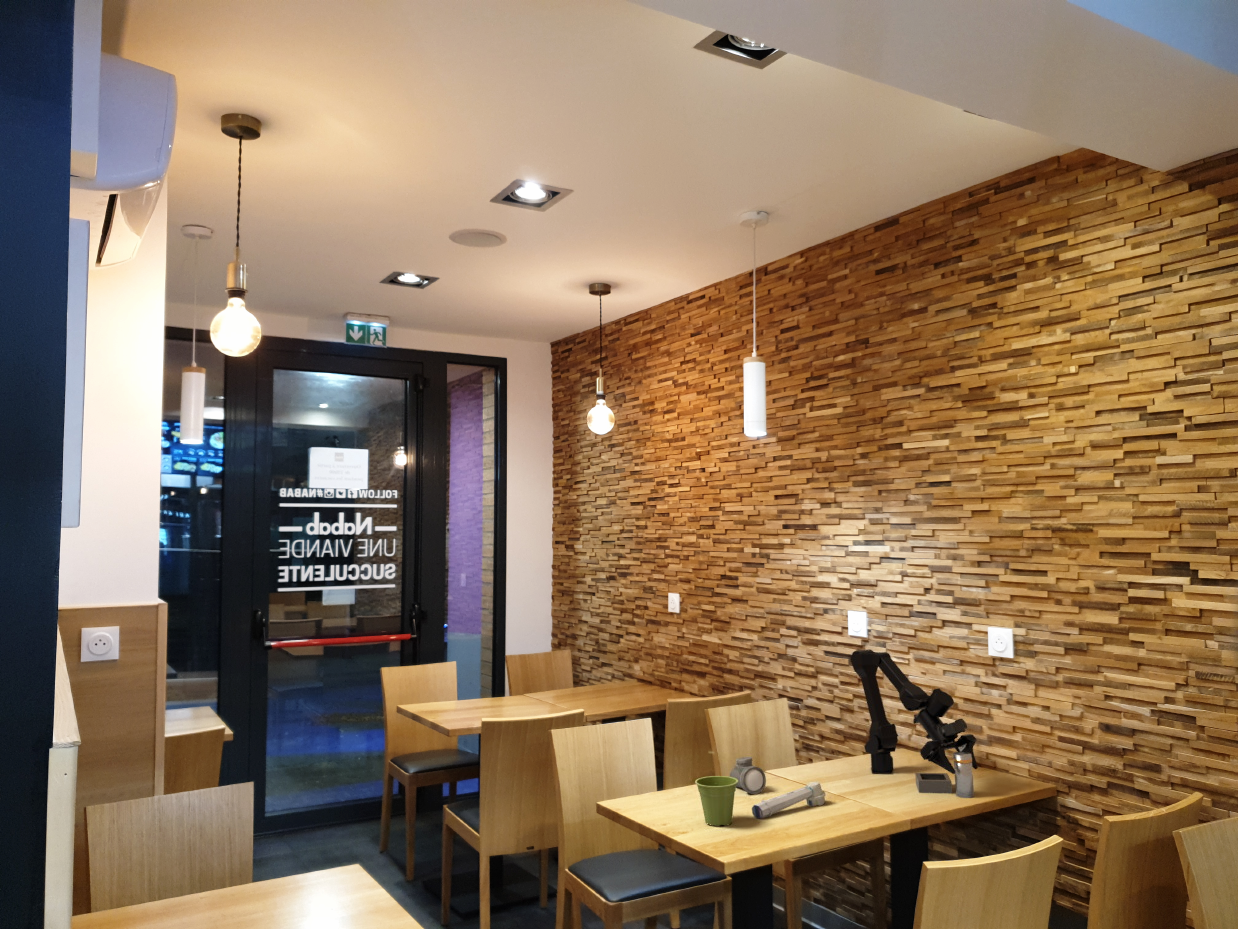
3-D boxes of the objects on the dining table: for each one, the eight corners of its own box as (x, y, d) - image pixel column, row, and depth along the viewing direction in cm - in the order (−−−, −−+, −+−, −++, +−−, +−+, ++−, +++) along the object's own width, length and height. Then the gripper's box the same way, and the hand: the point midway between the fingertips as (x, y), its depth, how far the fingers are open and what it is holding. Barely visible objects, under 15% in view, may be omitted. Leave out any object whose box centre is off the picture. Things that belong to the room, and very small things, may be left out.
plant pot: (742, 817, 257) (740, 775, 258) (737, 830, 245) (735, 787, 246) (700, 815, 260) (698, 774, 261) (693, 828, 248) (692, 786, 249)
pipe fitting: (769, 791, 280) (763, 756, 282) (746, 797, 277) (740, 762, 279) (750, 786, 291) (744, 753, 293) (728, 792, 288) (722, 758, 290)
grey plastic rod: (748, 802, 257) (813, 775, 271) (752, 826, 257) (817, 797, 271) (761, 807, 253) (826, 778, 267) (765, 831, 253) (830, 801, 267)
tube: (957, 798, 268) (954, 755, 269) (954, 793, 273) (951, 751, 274) (975, 798, 266) (973, 756, 267) (973, 793, 272) (970, 752, 273)
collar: (919, 792, 274) (918, 780, 275) (915, 784, 283) (915, 772, 284) (952, 793, 272) (951, 781, 273) (947, 785, 281) (947, 773, 282)
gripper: (924, 714, 271) (956, 759, 261) (969, 706, 280) (1002, 750, 269) (906, 737, 277) (937, 782, 267) (951, 729, 286) (982, 772, 275)
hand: (965, 771), depth 269 cm, fingers open, 9 cm apart
